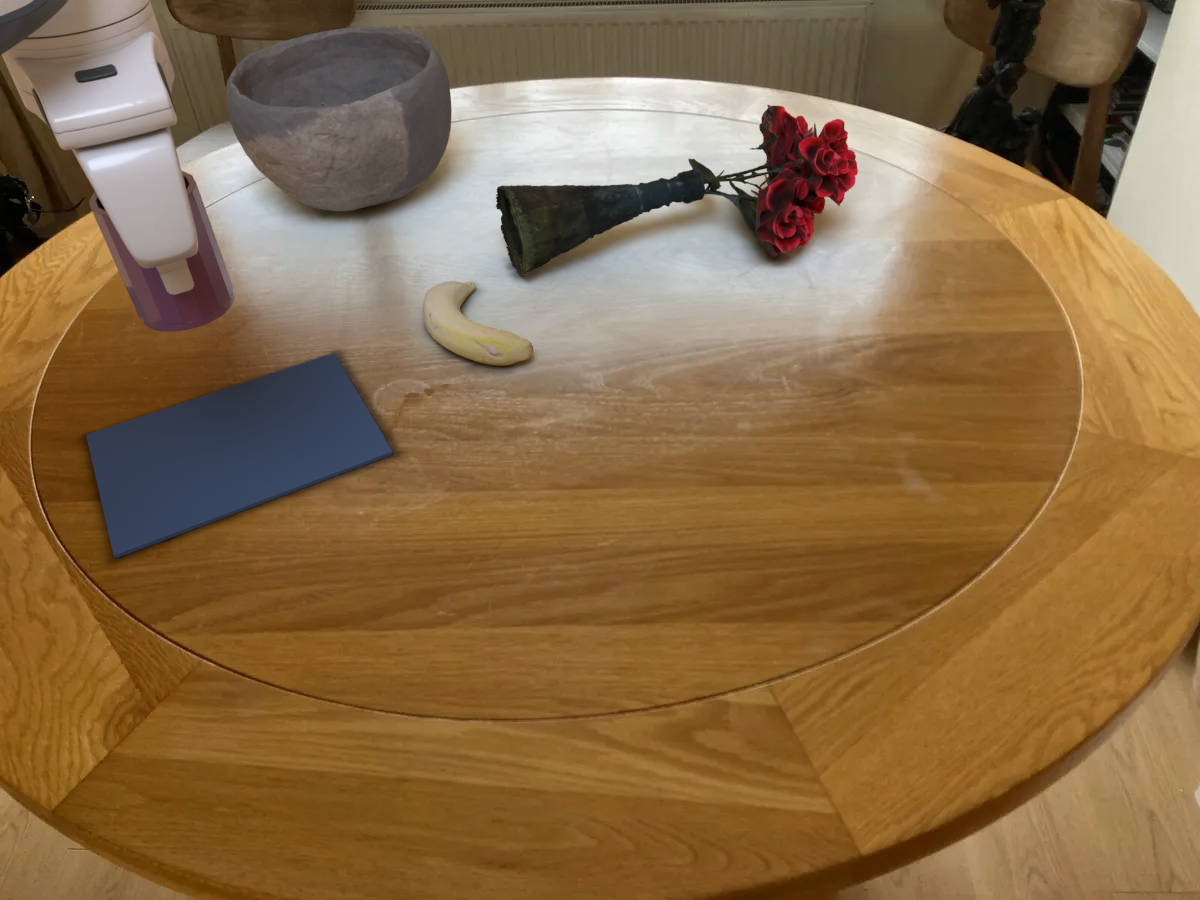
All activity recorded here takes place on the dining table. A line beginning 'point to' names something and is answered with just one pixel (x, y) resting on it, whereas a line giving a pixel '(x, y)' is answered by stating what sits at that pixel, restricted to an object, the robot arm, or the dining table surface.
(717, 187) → the vase with red roses
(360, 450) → the rectangular board
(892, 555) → the dining table surface
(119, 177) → the robot arm
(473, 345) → the fruit
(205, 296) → the cup
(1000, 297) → the dining table surface
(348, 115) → the bowl
